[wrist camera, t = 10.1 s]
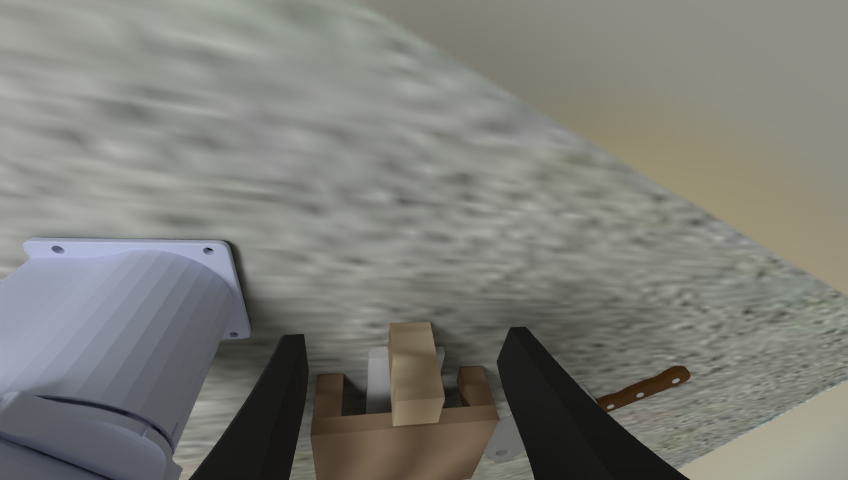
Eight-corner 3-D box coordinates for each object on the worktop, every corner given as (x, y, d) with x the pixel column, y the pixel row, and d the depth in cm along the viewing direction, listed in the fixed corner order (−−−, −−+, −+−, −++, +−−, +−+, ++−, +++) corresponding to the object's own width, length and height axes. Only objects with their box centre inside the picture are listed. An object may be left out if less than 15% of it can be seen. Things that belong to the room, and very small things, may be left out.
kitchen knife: (681, 339, 31) (694, 388, 36) (673, 331, 32) (687, 379, 37) (454, 435, 37) (493, 466, 42) (452, 425, 37) (491, 457, 43)
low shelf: (324, 440, 34) (319, 496, 30) (317, 375, 27) (310, 435, 24) (459, 428, 36) (471, 478, 32) (482, 366, 30) (499, 419, 26)
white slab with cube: (364, 433, 34) (364, 505, 29) (369, 323, 25) (370, 403, 20) (423, 428, 35) (432, 497, 30) (449, 321, 26) (468, 396, 21)
